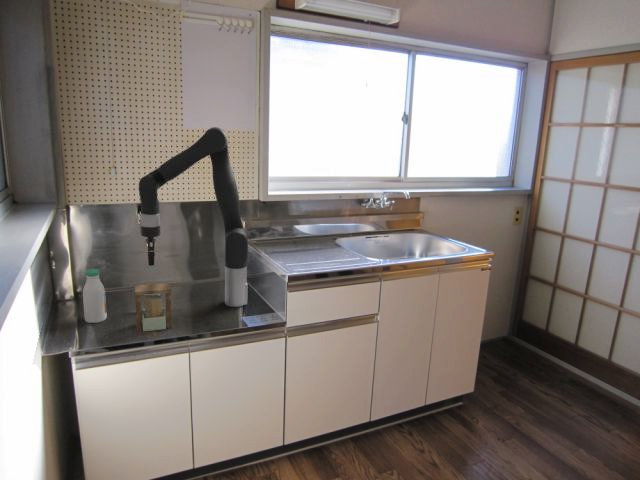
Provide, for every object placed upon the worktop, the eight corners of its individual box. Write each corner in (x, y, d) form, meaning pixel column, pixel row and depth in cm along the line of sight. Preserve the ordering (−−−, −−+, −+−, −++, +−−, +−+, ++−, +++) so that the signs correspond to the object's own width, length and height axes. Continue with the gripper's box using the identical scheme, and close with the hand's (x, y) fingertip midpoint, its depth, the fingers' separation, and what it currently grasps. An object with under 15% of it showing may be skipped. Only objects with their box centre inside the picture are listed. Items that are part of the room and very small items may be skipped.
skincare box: (144, 324, 176) (143, 295, 173) (155, 321, 179) (154, 292, 176) (153, 330, 172) (151, 300, 169) (163, 327, 175) (162, 297, 172)
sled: (163, 307, 192) (162, 290, 190) (165, 329, 173) (165, 311, 171) (142, 309, 189) (141, 292, 187) (142, 331, 170) (142, 313, 168)
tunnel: (170, 320, 181) (169, 283, 177) (171, 328, 175) (170, 289, 171) (136, 323, 176) (135, 285, 172) (136, 331, 170) (134, 292, 166)
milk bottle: (103, 323, 175) (100, 274, 170) (81, 323, 174) (77, 273, 168) (109, 315, 182) (106, 267, 177) (88, 315, 181) (84, 267, 176)
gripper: (161, 228, 181) (161, 267, 185) (159, 220, 194) (159, 256, 198) (140, 228, 178) (141, 268, 182) (140, 220, 191) (141, 257, 195)
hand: (151, 262), depth 190 cm, fingers open, 8 cm apart
